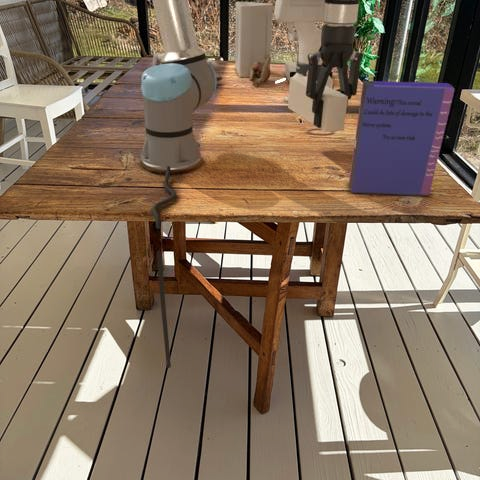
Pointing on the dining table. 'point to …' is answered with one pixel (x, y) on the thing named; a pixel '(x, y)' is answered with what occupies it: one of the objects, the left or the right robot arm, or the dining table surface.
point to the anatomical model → (260, 71)
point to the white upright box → (252, 35)
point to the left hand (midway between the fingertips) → (327, 124)
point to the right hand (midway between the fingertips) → (309, 40)
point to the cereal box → (399, 137)
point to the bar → (331, 108)
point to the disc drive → (293, 70)
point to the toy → (158, 56)
